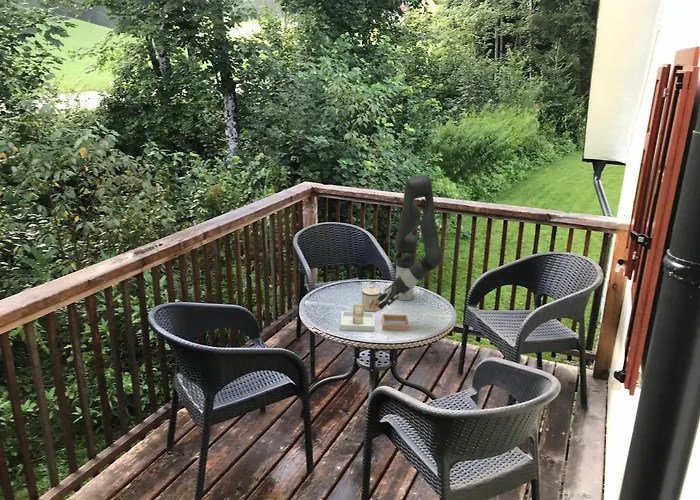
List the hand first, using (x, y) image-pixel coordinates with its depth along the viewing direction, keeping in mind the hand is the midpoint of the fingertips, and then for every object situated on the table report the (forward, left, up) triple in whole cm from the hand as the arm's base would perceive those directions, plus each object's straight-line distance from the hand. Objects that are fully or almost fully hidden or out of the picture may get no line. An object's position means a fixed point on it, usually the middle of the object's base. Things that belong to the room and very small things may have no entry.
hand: (379, 304), depth 251 cm
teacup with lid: (-20, -2, -10) cm, 23 cm away
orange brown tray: (-1, +8, -10) cm, 13 cm away
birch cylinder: (0, -9, -9) cm, 13 cm away
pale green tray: (0, -9, -10) cm, 14 cm away
